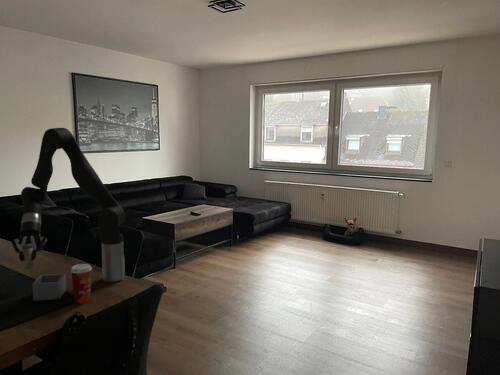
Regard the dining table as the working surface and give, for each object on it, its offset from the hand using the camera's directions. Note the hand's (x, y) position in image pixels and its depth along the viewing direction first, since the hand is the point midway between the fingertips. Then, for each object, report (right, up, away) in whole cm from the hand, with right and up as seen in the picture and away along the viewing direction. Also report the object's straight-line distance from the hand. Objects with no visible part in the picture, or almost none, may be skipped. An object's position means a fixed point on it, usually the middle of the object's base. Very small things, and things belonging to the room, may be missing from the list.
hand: (27, 260), depth 153 cm
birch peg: (-1, -4, +2) cm, 5 cm away
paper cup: (+26, -15, -7) cm, 31 cm away
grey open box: (+11, -14, -3) cm, 18 cm away
